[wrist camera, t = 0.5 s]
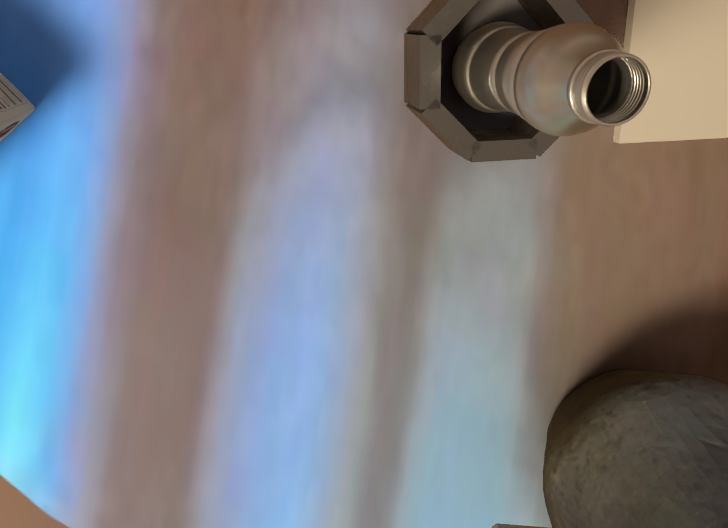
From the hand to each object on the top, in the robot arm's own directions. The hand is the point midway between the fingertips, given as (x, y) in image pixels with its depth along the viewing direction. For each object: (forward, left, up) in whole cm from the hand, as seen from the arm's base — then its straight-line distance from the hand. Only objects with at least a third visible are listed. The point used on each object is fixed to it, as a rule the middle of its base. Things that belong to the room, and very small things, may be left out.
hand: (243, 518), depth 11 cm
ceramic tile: (-4, +37, -43) cm, 57 cm away
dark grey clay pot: (+31, +33, -43) cm, 62 cm away
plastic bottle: (-4, +19, -43) cm, 47 cm away
